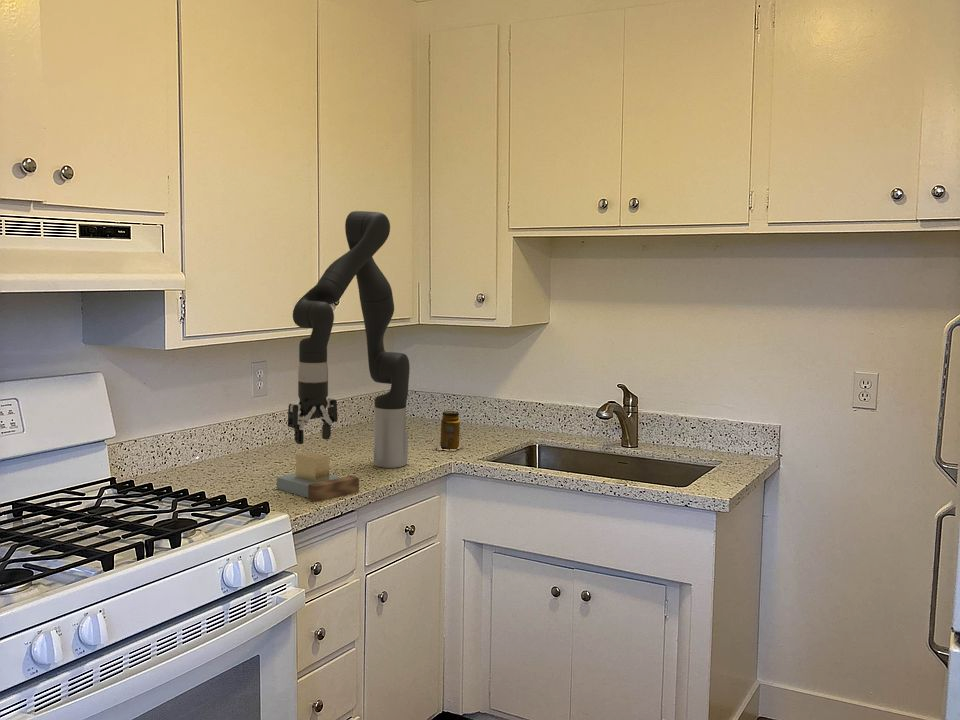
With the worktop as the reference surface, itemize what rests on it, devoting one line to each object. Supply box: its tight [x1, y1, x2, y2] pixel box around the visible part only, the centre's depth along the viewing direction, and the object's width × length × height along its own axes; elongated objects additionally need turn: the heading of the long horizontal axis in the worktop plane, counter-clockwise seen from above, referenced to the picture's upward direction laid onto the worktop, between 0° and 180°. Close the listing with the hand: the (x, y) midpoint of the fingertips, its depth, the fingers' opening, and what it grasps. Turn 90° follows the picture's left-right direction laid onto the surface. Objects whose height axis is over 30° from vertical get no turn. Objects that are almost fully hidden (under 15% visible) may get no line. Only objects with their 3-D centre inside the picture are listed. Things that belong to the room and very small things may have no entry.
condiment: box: [432, 410, 461, 451], centre depth 289 cm, size 7×8×12 cm
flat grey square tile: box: [276, 472, 342, 499], centre depth 232 cm, size 12×14×3 cm
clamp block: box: [295, 451, 331, 482], centre depth 231 cm, size 4×8×6 cm, turn 49°
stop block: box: [307, 475, 360, 503], centre depth 226 cm, size 14×3×4 cm, turn 139°
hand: (313, 441), depth 231 cm, fingers open, 8 cm apart
